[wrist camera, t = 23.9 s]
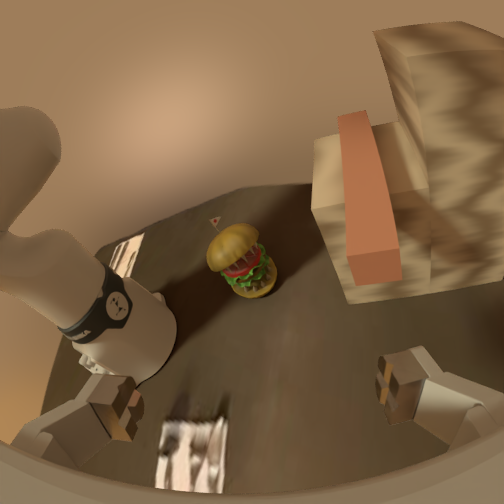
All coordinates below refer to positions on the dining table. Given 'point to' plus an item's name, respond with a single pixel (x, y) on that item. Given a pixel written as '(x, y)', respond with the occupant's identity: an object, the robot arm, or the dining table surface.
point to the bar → (367, 205)
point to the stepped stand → (430, 163)
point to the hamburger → (242, 260)
